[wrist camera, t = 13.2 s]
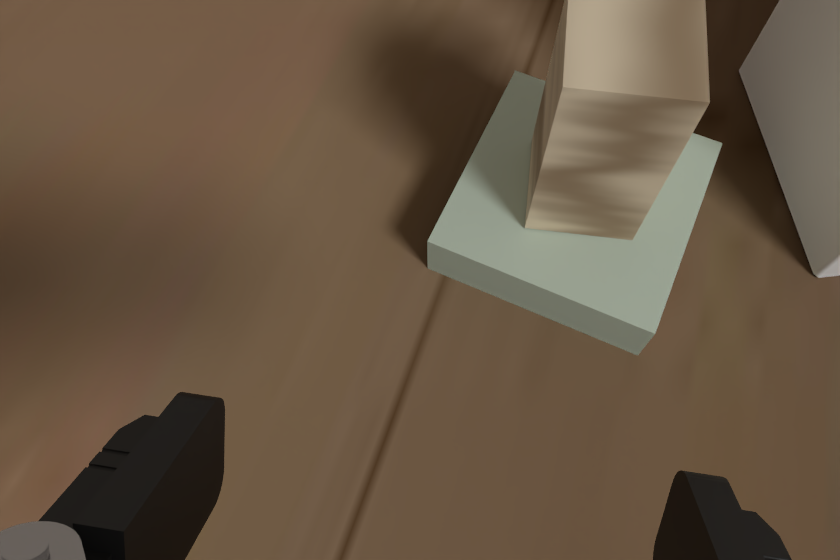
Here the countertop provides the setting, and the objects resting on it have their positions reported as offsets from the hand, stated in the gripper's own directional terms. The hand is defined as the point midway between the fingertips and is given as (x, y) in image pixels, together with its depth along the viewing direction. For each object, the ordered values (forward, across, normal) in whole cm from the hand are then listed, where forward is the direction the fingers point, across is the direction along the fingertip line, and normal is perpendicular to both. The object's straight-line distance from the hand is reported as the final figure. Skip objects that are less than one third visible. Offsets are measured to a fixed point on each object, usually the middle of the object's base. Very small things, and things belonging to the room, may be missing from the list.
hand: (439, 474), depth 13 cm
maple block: (+24, -5, 0) cm, 25 cm away
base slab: (+27, -5, +3) cm, 27 cm away
